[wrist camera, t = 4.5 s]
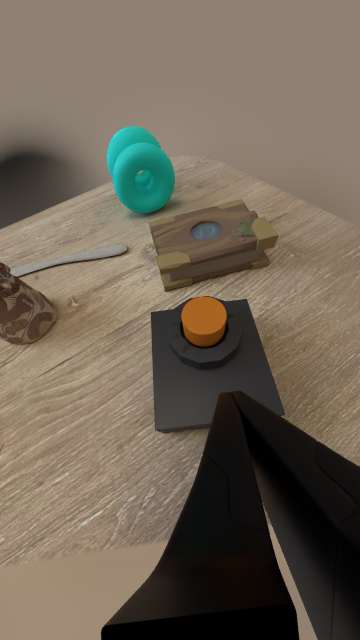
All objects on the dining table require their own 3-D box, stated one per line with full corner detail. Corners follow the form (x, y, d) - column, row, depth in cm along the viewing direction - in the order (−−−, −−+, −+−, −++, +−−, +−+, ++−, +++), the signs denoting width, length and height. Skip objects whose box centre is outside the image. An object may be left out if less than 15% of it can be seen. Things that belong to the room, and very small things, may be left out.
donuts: (126, 223, 37) (103, 157, 29) (117, 195, 42) (95, 131, 34) (179, 207, 38) (172, 139, 29) (164, 182, 43) (155, 117, 35)
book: (165, 292, 28) (158, 265, 24) (150, 241, 34) (143, 212, 30) (267, 265, 29) (278, 234, 25) (236, 219, 35) (241, 188, 30)
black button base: (270, 420, 19) (294, 411, 14) (163, 433, 20) (149, 429, 15) (240, 319, 25) (250, 287, 20) (158, 330, 26) (146, 302, 20)
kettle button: (228, 344, 18) (231, 331, 16) (186, 349, 18) (183, 337, 16) (220, 308, 20) (221, 293, 18) (181, 314, 20) (179, 299, 18)
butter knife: (126, 254, 32) (125, 240, 33) (-45, 289, 32) (-39, 274, 34) (127, 257, 33) (126, 243, 34) (-41, 291, 33) (-36, 276, 34)
